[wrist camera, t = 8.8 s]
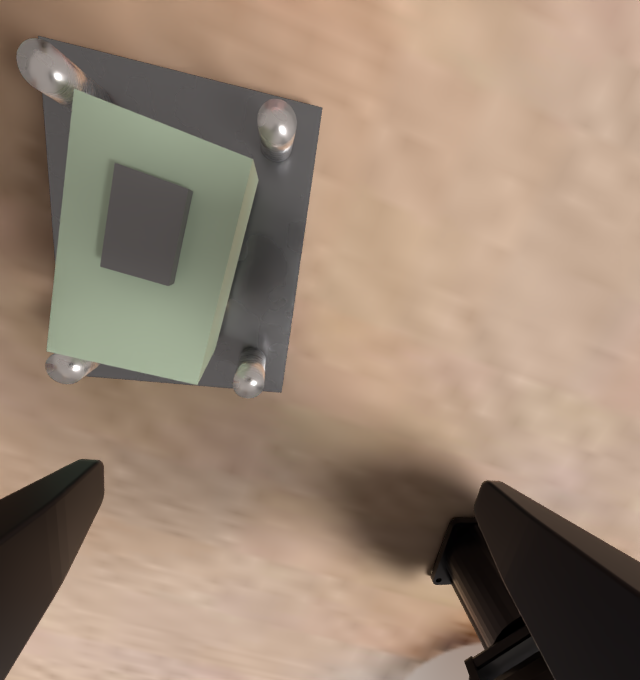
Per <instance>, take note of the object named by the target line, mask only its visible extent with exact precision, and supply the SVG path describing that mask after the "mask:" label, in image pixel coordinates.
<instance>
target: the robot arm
mask: <svg viewBox="0 0 640 680" xmlns="http://www.w3.org/2000/svg"><path fill="white" fill-rule="evenodd" d="M103 497H104V466H103V463H102V462H101V461H100V460H89V459H81V460H78V461H75V462H73V463H71V464H69V465H67V466H65V467H63V468H61V469H59V470H57V471H55V472H54V473H52V474H50V475H48V476H46V477H44V478H42V479H40V480H38V481H36V482H34V483H32V484H30V485H28V486H26V487H24V488H22V489H20V490H18V491H16V492H14V493H12V494H10V495H8V496H6V497H4V498H2V499H0V680H4V679H5V678H6V676H7V675H8V673H9V671H10V670H11V668H12V666H13V665H14V663H15V661H16V660H17V658H18V656H19V655H20V653H21V651H22V650H23V648H24V646H25V645H26V643H27V641H28V640H29V638H30V636H31V635H32V633H33V632H34V630H35V628H36V627H37V625H38V623H39V622H40V620H41V618H42V617H43V615H44V613H45V612H46V610H47V608H48V607H49V605H50V603H51V602H52V600H53V598H54V597H55V595H56V593H57V592H58V590H59V588H60V586H61V585H62V583H63V581H64V579H65V577H66V575H67V573H68V571H69V569H70V567H71V565H72V563H73V561H74V559H75V557H76V555H77V553H78V551H79V549H80V547H81V545H82V543H83V541H84V539H85V537H86V534H87V532H88V530H89V528H90V526H91V524H92V522H93V520H94V518H95V516H96V514H97V512H98V510H99V508H100V506H101V504H102V501H103ZM474 514H475V518H455V519H453V520H452V521H451V522H450V524H449V527H448V530H447V532H446V535H445V538H444V541H443V543H442V546H441V549H440V552H439V554H438V557H437V560H436V563H435V565H434V568H433V571H432V574H431V579H432V581H433V583H434V584H435V585H447V584H452V586H453V588H454V590H455V592H456V594H457V596H458V598H459V600H460V602H461V604H462V606H463V608H464V610H465V612H466V614H467V616H468V618H469V620H470V622H471V624H472V626H473V627H474V629H475V631H476V633H477V635H478V637H479V639H480V641H481V643H482V645H483V647H484V649H485V650H484V651H482V652H481V653H479V654H478V655H476V656H474V657H472V656H471V657H469V658H468V659H466V660H465V661H464V662H465V665H466V667H467V670H468V673H469V680H640V562H639V561H637V560H635V559H633V558H632V557H630V556H628V555H627V554H625V553H623V552H621V551H620V550H618V549H616V548H615V547H613V546H611V545H609V544H608V543H606V542H604V541H603V540H601V539H599V538H597V537H596V536H594V535H592V534H591V533H589V532H587V531H585V530H584V529H582V528H580V527H578V526H577V525H575V524H573V523H572V522H570V521H568V520H566V519H565V518H563V517H561V516H560V515H558V514H556V513H554V512H553V511H551V510H549V509H548V508H546V507H544V506H542V505H541V504H539V503H537V502H536V501H534V500H532V499H530V498H529V497H527V496H525V495H524V494H522V493H520V492H518V491H517V490H515V489H513V488H511V487H510V486H508V485H506V484H505V483H503V482H500V481H488V480H487V481H484V482H483V483H482V485H481V487H480V490H479V493H478V496H477V499H476V501H475V504H474Z"/></svg>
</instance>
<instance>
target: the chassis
mask: <svg viewBox="0 0 640 680" xmlns="http://www.w3.org/2000/svg"><path fill="white" fill-rule="evenodd" d="M16 57H17V65H18V68H19V71H20V72H21V74H22V76H23V77H24V79H25V80H26V81H27V82H28V83H29V84H30V85H31V86H33V87H34V88H36V89H37V90H39V91H40V92H42V96H43V109H44V122H45V135H46V148H47V162H48V175H49V188H50V201H51V214H52V227H53V241H54V254H55V265H56V256H57V246H58V237H59V227H60V218H61V208H62V199H63V189H64V180H65V170H66V161H67V151H68V142H69V132H70V123H71V113H72V104H73V94H74V89H76V90H79V91H82V92H84V93H87V94H89V95H92V96H94V97H97V98H99V99H102V100H104V101H107V102H109V103H112V104H114V105H117V106H120V107H122V108H125V109H127V110H130V111H132V112H135V113H137V114H140V115H142V116H145V117H147V118H150V119H152V120H155V121H158V122H160V123H163V124H165V125H168V126H170V127H173V128H175V129H178V130H180V131H183V132H185V133H188V134H190V135H193V136H196V137H198V138H201V139H203V140H206V141H208V142H211V143H213V144H216V145H218V146H221V147H223V148H226V149H228V150H231V151H234V152H236V153H239V154H241V155H244V156H246V157H249V158H251V159H253V161H254V164H255V168H256V172H257V176H258V184H257V188H256V192H255V196H254V200H253V204H252V208H251V212H250V216H249V219H248V223H247V227H246V231H245V235H244V239H243V243H242V247H241V251H240V255H239V259H238V263H237V266H236V270H235V274H234V278H233V282H232V286H231V290H230V294H229V298H228V302H227V306H226V310H225V313H224V317H223V321H222V325H221V329H220V333H219V337H218V341H217V345H216V349H215V351H214V353H213V355H212V357H211V359H210V361H209V363H208V365H207V367H206V369H205V371H204V373H203V375H202V377H201V379H200V381H199V383H198V385H197V386H209V387H221V388H233V389H234V391H235V392H236V394H238V395H239V396H241V397H243V398H254V397H256V396H258V395H259V394H260V393H261V392H262V391H269V392H281V393H282V386H283V379H284V372H285V365H286V358H287V351H288V344H289V337H290V330H291V323H292V316H293V309H294V302H295V295H296V288H297V281H298V274H299V267H300V260H301V253H302V246H303V239H304V232H305V225H306V218H307V211H308V205H309V198H310V191H311V184H312V177H313V170H314V163H315V156H316V149H317V142H318V135H319V128H320V121H321V114H322V108H321V107H318V106H314V105H310V104H306V103H302V102H298V101H294V100H290V99H286V98H282V97H278V96H274V95H270V94H266V93H262V92H258V91H254V90H250V89H246V88H242V87H238V86H235V85H231V84H227V83H223V82H219V81H215V80H211V79H207V78H203V77H199V76H195V75H191V74H187V73H183V72H179V71H175V70H171V69H167V68H163V67H159V66H155V65H152V64H148V63H144V62H140V61H136V60H132V59H128V58H124V57H120V56H116V55H112V54H108V53H104V52H100V51H96V50H92V49H88V48H84V47H80V46H76V45H73V44H69V43H65V42H61V41H57V40H53V39H49V38H45V37H41V36H38V38H31V39H27V40H25V41H24V42H22V43H21V45H20V46H19V48H18V50H17V56H16ZM45 368H46V371H47V373H48V375H49V376H50V377H51V378H52V379H53V380H55V381H57V382H59V383H62V384H73V383H76V382H78V381H79V380H80V379H82V378H83V377H84V376H89V377H101V378H113V379H125V380H137V381H149V382H161V383H173V384H185V385H195V384H190V383H186V382H182V381H177V380H173V379H168V378H164V377H159V376H155V375H150V374H146V373H141V372H137V371H132V370H128V369H123V368H119V367H114V366H110V365H105V364H101V363H96V362H92V361H87V360H83V359H79V358H74V357H70V356H65V355H61V354H56V353H55V354H53V355H51V356H50V357H49V358H48V359H47V360H46V363H45Z"/></svg>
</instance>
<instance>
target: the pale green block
mask: <svg viewBox="0 0 640 680" xmlns="http://www.w3.org/2000/svg"><path fill="white" fill-rule="evenodd" d="M257 184H258V176H257V172H256V168H255V164H254V161H253V159H251V158H249V157H246V156H244V155H241V154H239V153H236V152H234V151H231V150H228V149H226V148H223V147H221V146H218V145H216V144H213V143H211V142H208V141H206V140H203V139H201V138H198V137H196V136H193V135H190V134H188V133H185V132H183V131H180V130H178V129H175V128H173V127H170V126H168V125H165V124H163V123H160V122H158V121H155V120H152V119H150V118H147V117H145V116H142V115H140V114H137V113H135V112H132V111H130V110H127V109H125V108H122V107H120V106H117V105H114V104H112V103H109V102H107V101H104V100H102V99H99V98H97V97H94V96H92V95H89V94H87V93H84V92H82V91H79V90H76V89H74V94H73V104H72V113H71V123H70V132H69V142H68V151H67V161H66V170H65V180H64V189H63V199H62V208H61V218H60V227H59V237H58V246H57V256H56V265H55V275H54V284H53V294H52V303H51V313H50V322H49V332H48V341H47V352H52V353H56V354H61V355H65V356H70V357H74V358H79V359H83V360H87V361H92V362H96V363H101V364H105V365H110V366H114V367H119V368H123V369H128V370H132V371H137V372H141V373H146V374H150V375H155V376H159V377H164V378H168V379H173V380H177V381H182V382H186V383H190V384H195V385H198V383H199V381H200V379H201V377H202V375H203V373H204V371H205V369H206V367H207V365H208V363H209V361H210V359H211V357H212V355H213V353H214V351H215V349H216V345H217V341H218V337H219V333H220V329H221V325H222V321H223V317H224V313H225V310H226V306H227V302H228V298H229V294H230V290H231V286H232V282H233V278H234V274H235V270H236V266H237V263H238V259H239V255H240V251H241V247H242V243H243V239H244V235H245V231H246V227H247V223H248V219H249V216H250V212H251V208H252V204H253V200H254V196H255V192H256V188H257Z"/></svg>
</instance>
